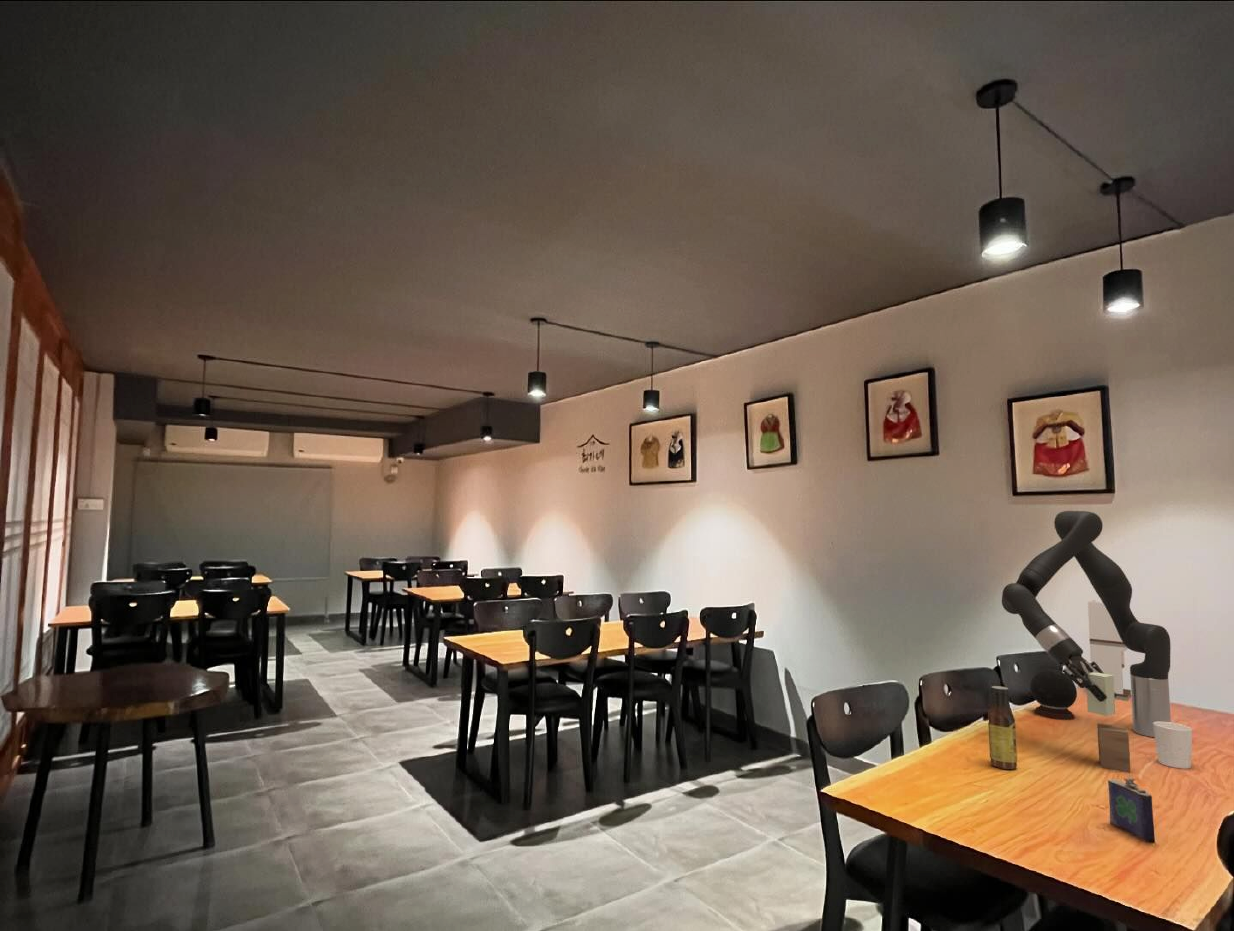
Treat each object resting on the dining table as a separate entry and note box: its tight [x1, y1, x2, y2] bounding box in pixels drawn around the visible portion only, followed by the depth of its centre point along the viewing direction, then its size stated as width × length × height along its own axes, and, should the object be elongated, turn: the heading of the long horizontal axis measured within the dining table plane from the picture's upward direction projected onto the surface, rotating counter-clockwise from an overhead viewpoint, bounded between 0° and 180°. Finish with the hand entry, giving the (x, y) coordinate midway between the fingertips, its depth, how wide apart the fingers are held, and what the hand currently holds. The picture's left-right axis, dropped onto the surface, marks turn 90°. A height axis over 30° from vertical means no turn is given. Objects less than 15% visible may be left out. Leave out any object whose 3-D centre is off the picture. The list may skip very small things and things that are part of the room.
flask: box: [1107, 777, 1156, 844], centre depth 136 cm, size 9×3×11 cm, turn 8°
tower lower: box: [1097, 742, 1132, 774], centre depth 174 cm, size 6×6×5 cm
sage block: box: [1086, 672, 1116, 717], centre depth 177 cm, size 4×4×10 cm
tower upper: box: [1096, 722, 1130, 753], centre depth 174 cm, size 6×6×5 cm
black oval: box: [1029, 668, 1078, 721], centre depth 223 cm, size 13×13×15 cm
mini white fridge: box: [1087, 599, 1131, 702], centre depth 254 cm, size 11×11×35 cm
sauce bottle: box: [987, 685, 1018, 770], centre depth 174 cm, size 7×6×20 cm
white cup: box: [1153, 722, 1193, 770], centre depth 177 cm, size 8×8×10 cm
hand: (1108, 698), depth 176 cm, fingers closed on sage block, 4 cm apart
